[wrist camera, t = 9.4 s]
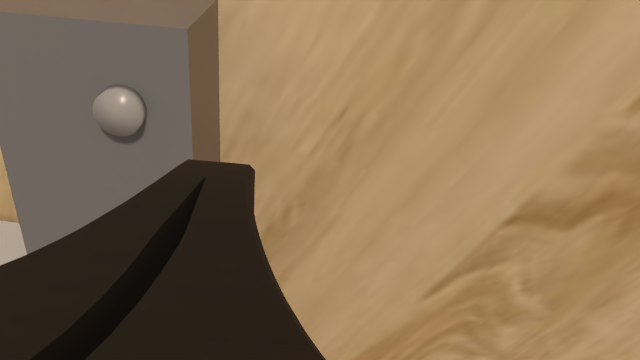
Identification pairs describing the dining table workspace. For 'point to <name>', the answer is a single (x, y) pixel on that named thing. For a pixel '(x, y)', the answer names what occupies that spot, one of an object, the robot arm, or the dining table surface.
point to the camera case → (102, 103)
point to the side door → (11, 242)
